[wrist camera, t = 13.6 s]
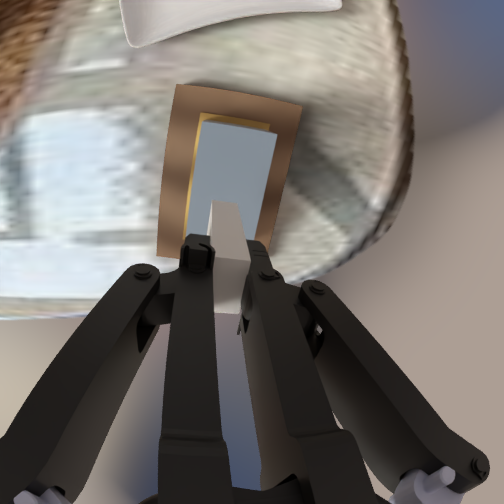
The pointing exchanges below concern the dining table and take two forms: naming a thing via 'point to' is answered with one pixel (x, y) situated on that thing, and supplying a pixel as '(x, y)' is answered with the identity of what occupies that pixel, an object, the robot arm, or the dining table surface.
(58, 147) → the dining table surface
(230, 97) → the board
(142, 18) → the salad plate
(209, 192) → the block
